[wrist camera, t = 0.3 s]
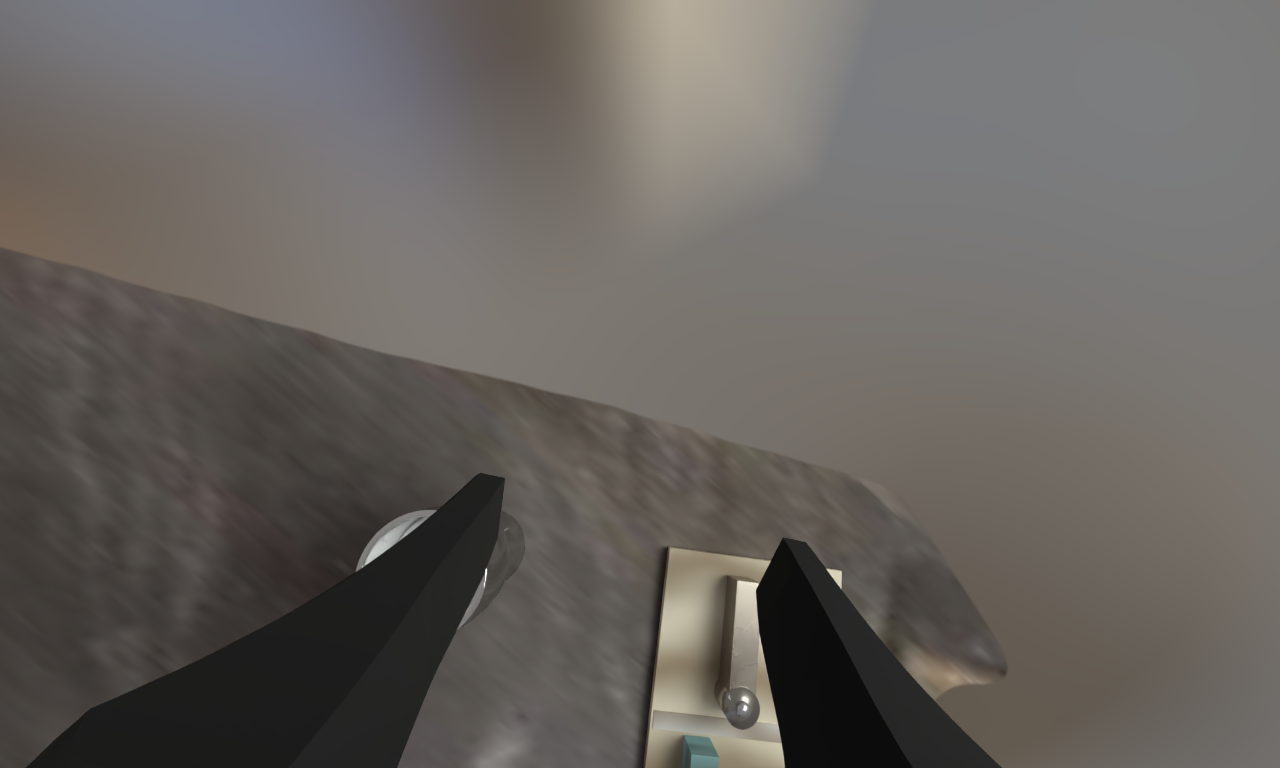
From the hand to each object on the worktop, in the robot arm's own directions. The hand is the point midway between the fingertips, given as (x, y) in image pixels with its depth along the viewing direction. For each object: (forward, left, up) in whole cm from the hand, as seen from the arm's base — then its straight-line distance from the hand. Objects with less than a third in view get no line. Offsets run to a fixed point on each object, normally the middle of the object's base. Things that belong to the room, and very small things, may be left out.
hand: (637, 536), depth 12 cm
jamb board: (-12, -13, -29) cm, 34 cm away
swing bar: (-9, -12, -28) cm, 31 cm away
